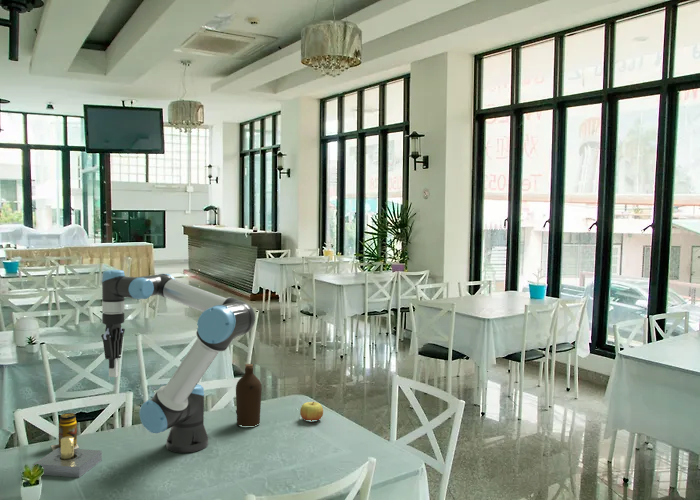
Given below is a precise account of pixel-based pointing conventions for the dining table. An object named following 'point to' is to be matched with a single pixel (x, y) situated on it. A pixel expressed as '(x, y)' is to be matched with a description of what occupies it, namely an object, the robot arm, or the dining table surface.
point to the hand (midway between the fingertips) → (113, 376)
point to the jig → (70, 463)
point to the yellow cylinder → (67, 448)
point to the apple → (311, 411)
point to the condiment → (67, 429)
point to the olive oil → (248, 398)
